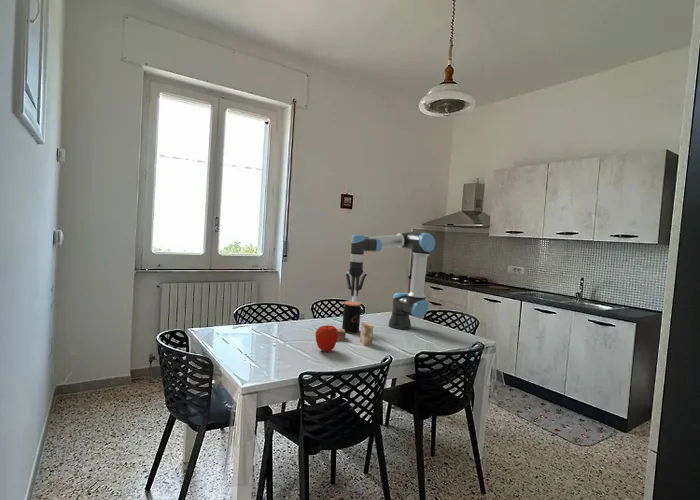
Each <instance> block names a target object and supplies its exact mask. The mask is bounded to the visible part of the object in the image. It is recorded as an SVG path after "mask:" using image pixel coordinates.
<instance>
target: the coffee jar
mask: <svg viewBox="0 0 700 500" xmlns="http://www.w3.org/2000/svg"><path fill="white" fill-rule="evenodd" d="M343 304H344V306H343V309H342V325H341V326H342V328H341V329H344V330H345V332H346V334H347V333H348V334H357V333H359V332H360V326H361V325H360V323H361V313H362V312H361V311H362V309H361V305H362V303H361V302H359V301H356V302H352V300H345V301H343Z"/></svg>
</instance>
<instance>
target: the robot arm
mask: <svg viewBox="0 0 700 500" xmlns="http://www.w3.org/2000/svg"><path fill="white" fill-rule="evenodd" d="M396 247H397V248H398V249H409V250H411V254H412V255H413V260H412V261H413V262H412V268H411V269H412V271H411V280H410V281H411V282H410V287H409V288H410V290H409V292H395V293H394V294H393V298H392V309H391V316H390V318H389V320H388V326H389V328H392V329H396V330H409V329H411V328H412V323H411V319H410V316H412V317H414V318H415V317H416V318H422V317H424V316H425V315H426V314H427V312H428V310H429V303H428V302H427V301H426V295H425V294H424V292H425V282H426V275H427V266H428V265H427V262H428V257H429V256H430V255H431V252H433V250H434V249H435V247H436V240H435V238H434V236H433V234H431V233H429V232H422V231H421V232H420V231H417V232H416V231H408V232H401V233H400V232H399V233H397V234H396V235H395V234H394V235H392V234H391V235H376V236H365V235H363V234H353V235H352V236H351V242H350V258H349V260H350V262H349V269H348V271H347V272H345V273H344V276H345V277H346V282H347V289H349V290H350V296H351V301H352V302H357V297H358V296H359V291H361V290H362V289H363V286H364V282H365V278H366V277H367V276H368V274H367V273H365V272H364V270H363V269H364V256H365V255H364V254H365V252H376V253H377V252H380V251H381V250H382V248H384V249H385V248H396ZM350 276H351V279H350Z"/></svg>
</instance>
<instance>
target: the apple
mask: <svg viewBox="0 0 700 500" xmlns="http://www.w3.org/2000/svg"><path fill="white" fill-rule="evenodd" d="M337 329H338V328H336V327H335V326H334V325H330V324H327V325H321V326H319V327H317V329H316V331H315V343H316V345H317V348H318V349H319V350H321V351H322V352H324V353H329V352H331V351H332V350H333V349H334V348H335V346H336V345H337V342H338V340H337V339H338V330H337Z"/></svg>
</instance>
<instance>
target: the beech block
mask: <svg viewBox="0 0 700 500" xmlns="http://www.w3.org/2000/svg"><path fill="white" fill-rule="evenodd" d="M360 323H361V325H360V336H359V343H360V344H361V345H363V346H373V333H374V325H373V324H371V323H370V322H360Z"/></svg>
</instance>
